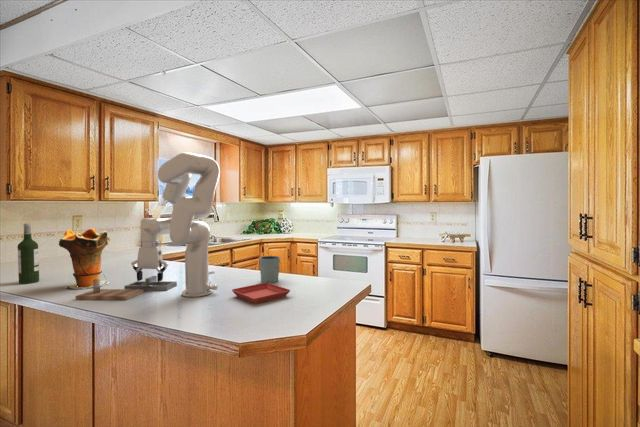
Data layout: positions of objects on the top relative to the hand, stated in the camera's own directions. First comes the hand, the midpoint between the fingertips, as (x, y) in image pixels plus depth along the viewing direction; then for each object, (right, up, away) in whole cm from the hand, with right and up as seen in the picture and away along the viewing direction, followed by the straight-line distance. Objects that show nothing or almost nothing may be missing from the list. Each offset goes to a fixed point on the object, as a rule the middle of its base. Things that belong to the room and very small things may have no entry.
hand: (149, 280), depth 157 cm
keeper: (-10, -4, -14) cm, 17 cm away
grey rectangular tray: (+1, -3, 0) cm, 3 cm away
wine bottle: (-68, -4, +14) cm, 70 cm away
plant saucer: (+55, -4, -16) cm, 58 cm away
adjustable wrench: (+15, -3, +23) cm, 28 cm away
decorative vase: (-34, -4, +7) cm, 35 cm away
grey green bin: (+55, -3, +12) cm, 56 cm away
